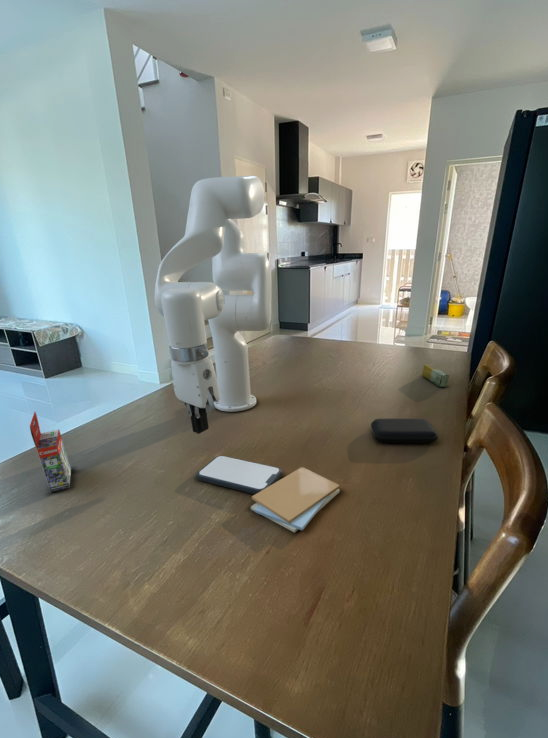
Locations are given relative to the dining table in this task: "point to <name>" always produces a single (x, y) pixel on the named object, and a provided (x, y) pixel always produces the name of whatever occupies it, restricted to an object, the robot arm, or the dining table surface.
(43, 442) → the ink box
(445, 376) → the medication box
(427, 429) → the carrying case
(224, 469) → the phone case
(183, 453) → the dining table surface
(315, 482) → the envelope pile
